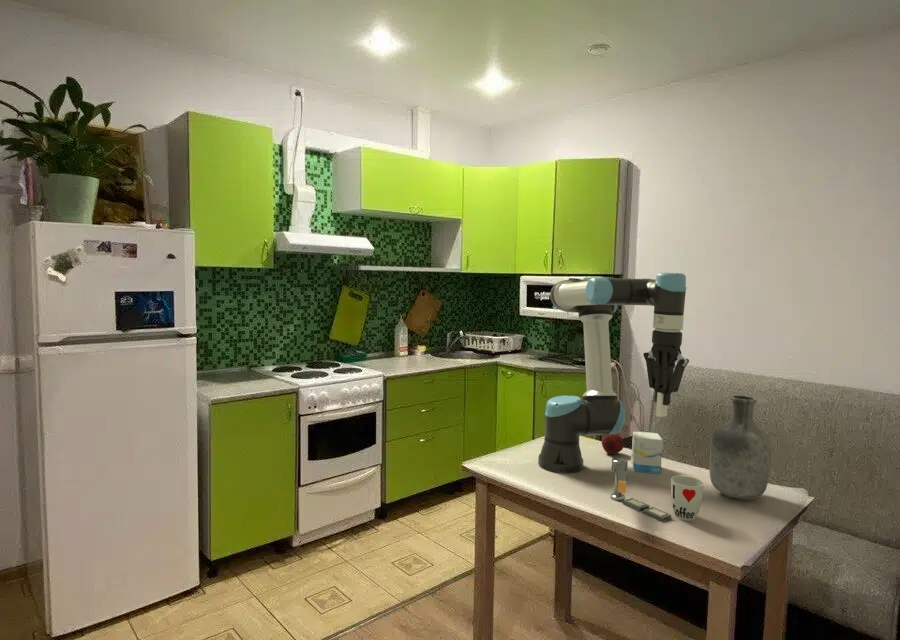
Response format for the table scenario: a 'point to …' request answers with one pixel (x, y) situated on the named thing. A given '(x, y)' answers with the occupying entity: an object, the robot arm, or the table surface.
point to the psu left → (635, 504)
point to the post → (616, 494)
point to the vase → (740, 453)
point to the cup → (686, 496)
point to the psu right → (657, 514)
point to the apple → (612, 444)
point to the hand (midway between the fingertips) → (661, 415)
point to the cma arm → (620, 473)
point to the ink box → (646, 452)
